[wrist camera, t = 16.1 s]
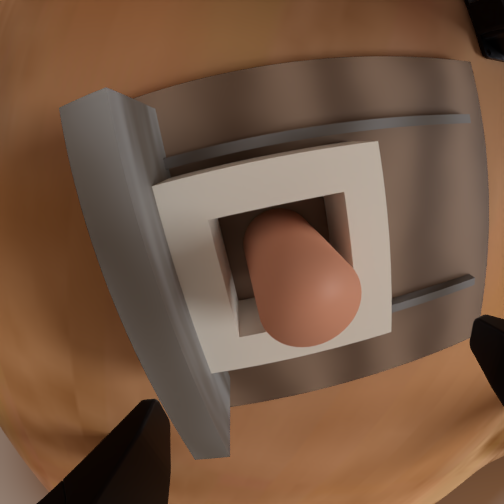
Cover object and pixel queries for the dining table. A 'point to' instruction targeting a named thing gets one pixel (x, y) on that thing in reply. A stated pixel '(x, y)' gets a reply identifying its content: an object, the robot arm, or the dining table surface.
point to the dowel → (299, 280)
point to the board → (312, 210)
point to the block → (266, 195)
